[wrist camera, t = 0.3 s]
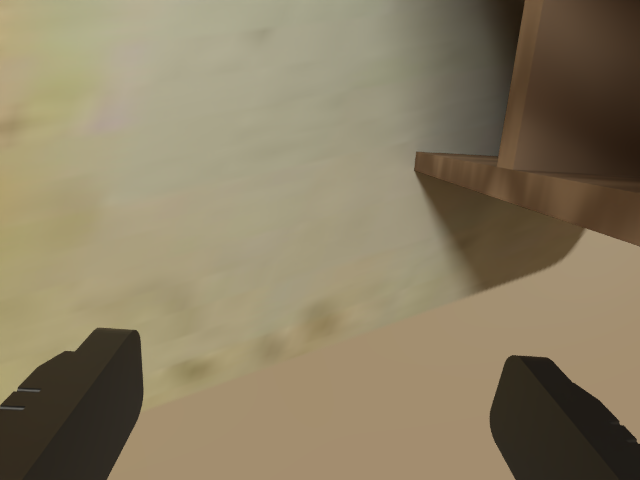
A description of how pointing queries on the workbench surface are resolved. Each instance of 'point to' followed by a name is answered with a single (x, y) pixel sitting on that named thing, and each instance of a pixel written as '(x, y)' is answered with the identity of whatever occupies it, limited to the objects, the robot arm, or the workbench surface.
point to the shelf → (567, 120)
